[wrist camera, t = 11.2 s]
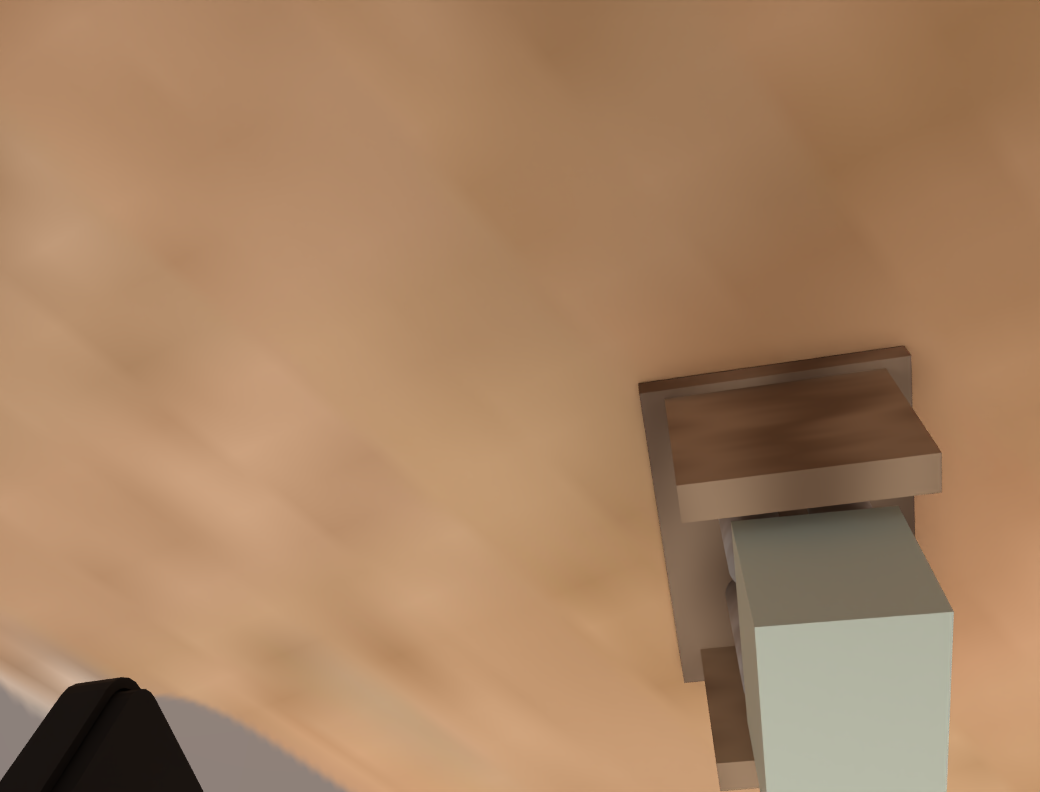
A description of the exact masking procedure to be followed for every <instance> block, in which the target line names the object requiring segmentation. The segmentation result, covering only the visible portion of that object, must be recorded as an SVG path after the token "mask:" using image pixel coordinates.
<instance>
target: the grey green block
mask: <svg viewBox="0 0 1040 792" xmlns="http://www.w3.org/2000/svg"><path fill="white" fill-rule="evenodd" d="M731 528H732V541H733V553H734V565H735V577H736V590H737V602H738V614H739V626H740V639H741V651H742V663H743V675H744V688H745V700H746V712H747V723H748V728H749V734H750V739H751V744H752V750H753V755H754V760H755V766H756V771H757V776H758V782H759V787H760V792H947V769H948V744H949V719H950V694H951V668H952V643H953V618H954V611H953V609H952V607H951V606H950V604H949V602H948V600H947V598H946V596H945V594H944V592H943V590H942V588H941V586H940V584H939V583H938V581H937V579H936V577H935V575H934V573H933V571H932V569H931V567H930V565H929V563H928V562H927V560H926V558H925V556H924V554H923V552H922V550H921V548H920V546H919V544H918V542H917V540H916V539H915V537H914V535H913V533H912V531H911V529H910V527H909V525H908V523H907V521H906V519H905V517H904V516H903V514H902V512H901V510H900V508H899V506H890V507H879V508H869V509H858V510H847V511H837V512H826V513H815V514H805V515H794V516H783V517H773V518H762V519H751V520H740V521H731Z"/></svg>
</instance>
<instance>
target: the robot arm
mask: <svg viewBox="0 0 1040 792" xmlns="http://www.w3.org/2000/svg"><path fill="white" fill-rule="evenodd" d="M0 792H203V790H202V788H201V786H200V784H199V782H198V780H197V778H196V776H195V774H194V772H193V770H192V769H191V767H190V765H189V763H188V761H187V759H186V757H185V755H184V753H183V751H182V749H181V748H180V745H179V743H178V742H177V740H176V738H175V736H174V734H173V732H172V730H171V728H170V726H169V724H168V722H167V720H166V718H165V717H164V715H163V713H162V711H161V709H160V707H159V705H158V703H157V701H156V699H155V698H154V696H153V695H152V693H151V692H149V691H148V690H146V689H140V687H139V686H138V685H137V683H136V682H135V681H133V680H132V679H130V678H124V677H120V678H113V679H106V680H99V681H92V682H85V683H78V684H75V685H72V686H70V687H68V688H67V689H66V690H65V691H64V692H63V694H62V695H61V696H60V697H59V699H58V700H57V702H56V703H55V704H54V706H53V707H52V709H51V710H50V711H49V713H48V714H47V716H46V717H45V719H44V720H43V721H42V723H41V724H40V726H39V727H38V728H37V730H36V731H35V733H34V734H33V736H32V737H31V738H30V740H29V742H28V743H27V744H26V746H25V747H24V748H23V750H22V751H21V753H20V754H19V756H18V757H17V758H16V760H15V761H14V763H13V764H12V766H11V767H10V768H9V770H8V771H7V772H6V774H5V775H4V777H3V778H2V780H1V781H0Z"/></svg>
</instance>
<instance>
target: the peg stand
mask: <svg viewBox="0 0 1040 792" xmlns="http://www.w3.org/2000/svg"><path fill="white" fill-rule="evenodd" d="M639 394H640V401H641V407H642V414H643V420H644V426H645V433H646V439H647V446H648V452H649V459H650V465H651V471H652V478H653V484H654V491H655V497H656V504H657V510H658V516H659V523H660V529H661V536H662V542H663V548H664V555H665V561H666V568H667V574H668V581H669V587H670V593H671V600H672V606H673V613H674V619H675V626H676V632H677V638H678V645H679V651H680V658H681V664H682V671H683V677H684V683H687V682H698V681H705V686H706V693H707V700H708V707H709V714H710V722H711V729H712V736H713V743H714V750H715V757H716V764H717V771H718V778H719V785H720V791H728V790H741V789H754V788H760V787H759V782H758V776H757V771H756V766H755V760H754V755H753V750H752V744H751V739H750V734H749V728H748V723H747V712H746V700H745V688H744V675H743V663H742V651H741V639H740V626H739V614H738V602H737V590H736V577H735V565H734V553H733V541H732V528H731V521H740V520H751V519H762V518H773V517H783V516H794V515H805V514H815V513H826V512H837V511H847V510H858V509H869V508H879V507H890V506H899V508H900V510H901V512H902V514H903V516H904V517H905V519H906V521H907V523H908V525H909V527H910V529H911V531H912V533H913V535H914V537H915V518H914V496H916V495H924V494H933V493H941V492H942V453H941V451H940V449H939V448H938V446H937V445H936V443H935V442H934V440H933V439H932V437H931V436H930V434H929V433H928V431H927V430H926V428H925V427H924V425H923V424H922V422H921V421H920V419H919V418H918V416H917V415H916V413H915V412H914V410H913V409H912V367H911V355H910V353H909V352H908V351H907V349H906V348H905V346H900V347H893V348H886V349H879V350H872V351H865V352H858V353H851V354H844V355H837V356H830V357H823V358H816V359H809V360H802V361H795V362H788V363H780V364H773V365H766V366H759V367H752V368H745V369H738V370H731V371H724V372H717V373H710V374H703V375H696V376H689V377H682V378H675V379H668V380H661V381H654V382H647V383H640V384H639Z"/></svg>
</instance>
